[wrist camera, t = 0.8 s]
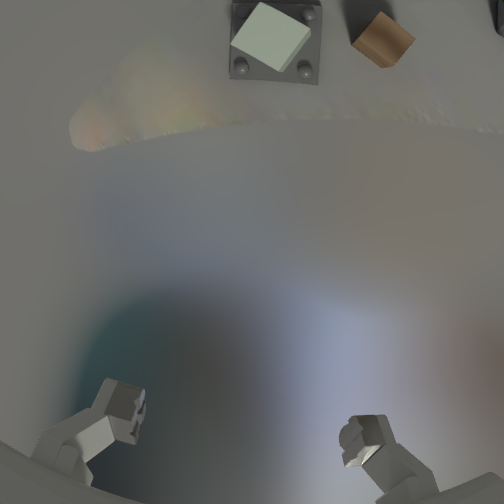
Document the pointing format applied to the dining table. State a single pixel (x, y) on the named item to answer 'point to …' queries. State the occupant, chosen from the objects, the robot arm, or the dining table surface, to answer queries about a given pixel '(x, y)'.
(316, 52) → the baseplate
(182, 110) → the dining table surface
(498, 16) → the juice carton
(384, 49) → the walnut brick
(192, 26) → the dining table surface
